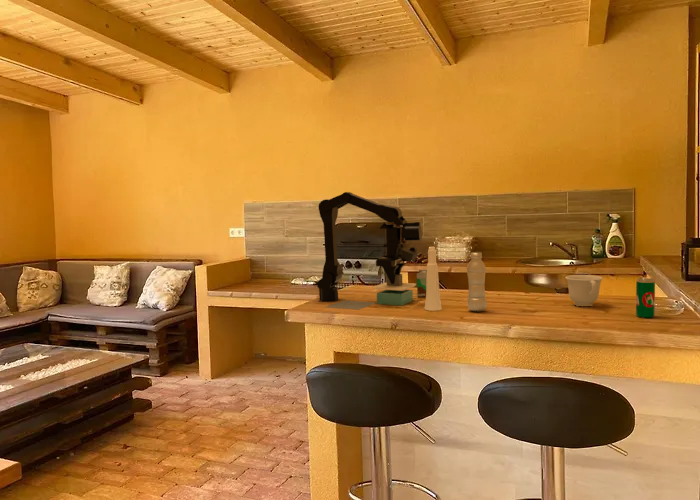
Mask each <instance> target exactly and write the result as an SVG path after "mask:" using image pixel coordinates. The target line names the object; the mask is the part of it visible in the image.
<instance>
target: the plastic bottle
mask: <svg viewBox="0 0 700 500" xmlns="http://www.w3.org/2000/svg"><path fill="white" fill-rule="evenodd" d="M482 254H483V253H482V252H481V251H473V252H470V256H469V257H470V261H469V262H468V263H467V266H466V273H467V274H466V275H467V279H468V280H467V281H468V294H467V299H466V301H467V303H466V304H467V308H468V310H469V311H472V312H476V311H477V312H483V311H485V310H486V308H487V305H488V304H487V298H486V290H485V287H486V286H485V281H486V271H487V267H486V265H485V263H484V261H483V260H482V259H483V255H482Z"/></svg>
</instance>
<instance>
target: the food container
mask: <svg viewBox="0 0 700 500" xmlns="http://www.w3.org/2000/svg"><path fill="white" fill-rule="evenodd" d="M426 284H427V269H418V272H417V273H416V293H417V294H416V295H417V296H416V297H417V299H423V298H424V299H426Z"/></svg>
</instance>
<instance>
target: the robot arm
mask: <svg viewBox="0 0 700 500" xmlns="http://www.w3.org/2000/svg"><path fill="white" fill-rule="evenodd" d="M348 204H349V205H352V206H354V207H357V208H359V209H362V210H365V211H368V212H370V213H373V214H375V215H376V216H378V217H379V218H381V219H382V220H383V221H385V222H383V223H382V224H381V226H379V229H380V230H384V231H385V243H383V248H385V254H384V255H383V256H381V257H378V258H377V259H375V266H376V267H381V268H382V269H383V270H384V271H383V272H385V274H386V277H387V276H388V278H389V280H390V282H391V284H394V281H395V274H401V273H402V268H404V266H405V265H407V263H412V262H414V261H415V260H416V257H418V251H417V250H418V249H417V248H416V247H414V246H412V247H410V248H407V247H405V244H404V243H403V242H402V239H404V240H405V242H411V241H412V242H413V241H414V242H415V241H417V242H421V241H422V240H423V239H422V238H423V230H422V225H421V222H420V221H415V222H408V221H407V219H405V217H404V216H403V212H402V210H401V208H400V207H398V206H394V205H387V204H381V203H378V202H376V201H373V200H370V199H368V198H364V197H362V196H359V195H357V194H355V193H353V192H351V191H345V192H343V193H341V194H338V195H337V196H334V197H331V198H330V199H328V198H327V199H323V200H321V201H320V202H319V203H318V211H319V217H320V219H321V221H322V223H323V235H324V236H323V238H324V240H323V241H324V254H325V255H324V256H325V258H324V259H325V262H324V264H323V268H322V277H321V278H320V279H319V280H318V281H317V282H316V286H317V289H319V290H318V294H319V295H318V296H319V298H318V299H319V302H324V303H326V302H327V303H329V302H331V303H332V302H338V301H339V291H338V283H339V282H340V280H341V279H342V277H343V275H344V271H343V270H344V269H343V268H344V263H340V262H339V260H338V249H337V248H338V247H337V229H336V227H337V226H336V224H337V220H338V216H339V215H338V214H339V209H341V208H343V207H345V206H346V205H348Z"/></svg>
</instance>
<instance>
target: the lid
mask: <svg viewBox="0 0 700 500" xmlns="http://www.w3.org/2000/svg"><path fill="white" fill-rule="evenodd" d="M414 287H417V283H410V282H403V274H402V273H400V274H395V281H394V284H391V282H390V280H389V278H388V276H387V275H386V281H385V282H383V283H380V284H377V285H374V286H372V289H373V290H381V291H383V290H399V291H404V290H410V289H412V288H414Z"/></svg>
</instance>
